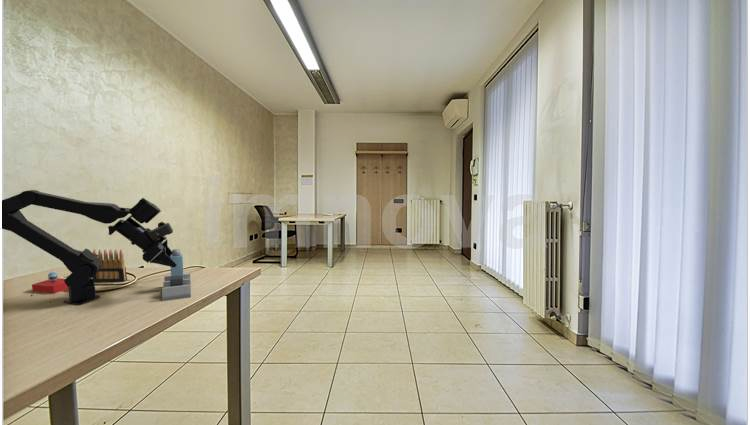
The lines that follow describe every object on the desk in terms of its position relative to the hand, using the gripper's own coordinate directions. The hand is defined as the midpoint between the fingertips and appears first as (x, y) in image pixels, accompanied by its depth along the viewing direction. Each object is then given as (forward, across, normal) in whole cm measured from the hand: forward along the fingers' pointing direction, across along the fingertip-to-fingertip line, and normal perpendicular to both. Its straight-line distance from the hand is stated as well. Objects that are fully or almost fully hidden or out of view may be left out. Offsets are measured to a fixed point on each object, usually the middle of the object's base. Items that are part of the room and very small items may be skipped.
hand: (176, 262), depth 117 cm
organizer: (+7, -3, +6) cm, 10 cm away
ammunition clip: (-8, +18, +22) cm, 30 cm away
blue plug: (+6, 0, +6) cm, 8 cm away
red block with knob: (-18, +15, +33) cm, 41 cm away
